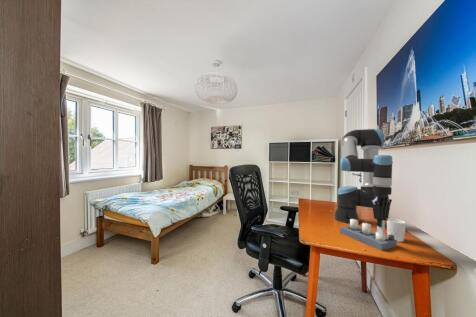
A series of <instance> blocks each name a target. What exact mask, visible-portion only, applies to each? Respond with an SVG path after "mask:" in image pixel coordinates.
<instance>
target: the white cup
mask: <svg viewBox="0 0 476 317" xmlns="http://www.w3.org/2000/svg"><path fill="white" fill-rule="evenodd" d="M406 226H407V223H406V221H404V220H401V219H396V218H389V217H388V220H387V221H386V233H387V236H388V235H390V233H392V235H393V236H394V239H395V240H397V242H398V243H399V242H400V243H403V242H404V241H405V234H406Z"/></svg>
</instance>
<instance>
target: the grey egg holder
mask: <svg viewBox="0 0 476 317" xmlns="http://www.w3.org/2000/svg"><path fill="white" fill-rule="evenodd" d="M339 233H340V234H342V235H344V236H346V237H349V238H352V239H354V240H356V241H358V242H360V243H363V244H366V245H367V246H370V247H372V248H375V249H376V250H379V251H385V250H388V249H391V248H396V247H397V245H398V244H397V240H395V239H394V236H393V235H392V233H390V235H388V234H387V236H386V239H385V241H384V242H382V241H380V240H377V239H376V231H373V230H371V235H365V234H363V233H362V226H361V227H360V226H358V230H352V229H350V225H347V226H342V227H340V228H339Z"/></svg>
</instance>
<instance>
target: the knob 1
mask: <svg viewBox="0 0 476 317" xmlns="http://www.w3.org/2000/svg"><path fill="white" fill-rule="evenodd" d="M349 226H350V229H352V230H358V227H359V223H358V220H356V219H350V223H349Z"/></svg>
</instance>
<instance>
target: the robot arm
mask: <svg viewBox="0 0 476 317" xmlns="http://www.w3.org/2000/svg"><path fill="white" fill-rule="evenodd" d="M384 145H385V136H384V133H383V130H382V129H380V128H366V129H353V130H350V131H348V132H347V133H345V134H344V135H343V137H342V139H341V146H342V147H343V158H341V159H340V171H342V172H353V173H354V172H357V173H358V172H361V173H363V175H362V177H363V181H362V185H360V188H358V186H354V185H353V186H352V185H349V186H348V185H347V186H344V185H343V186H339V188H338V190H337V208H336V210H335V213H334V219H335V220H336V221H338V222H341V223H342V222H343V223H347V224H350V219H356V220H358V224H359V222H360V217H359V213H358V211H357V210H358V209H357V208H358V207H361V208H371V209H372V214H373V219H375V220H376V232H378V233H381V234H386V233H385V232H386V230H385V227H386V222H387V220H388V219H389V215H390V210H391V204H392V202H393V200H392V199H391V198H389V197H390V195H392V191H393V190H392V186H393V183H392V182H393V178H392V177H393V155H389V154H379V150H381V149H382V147H383V146H384ZM358 147H360V149H361V150H362V153H363V154H362V156H363V157H362V158H359V153H358V149H357V148H358Z"/></svg>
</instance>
